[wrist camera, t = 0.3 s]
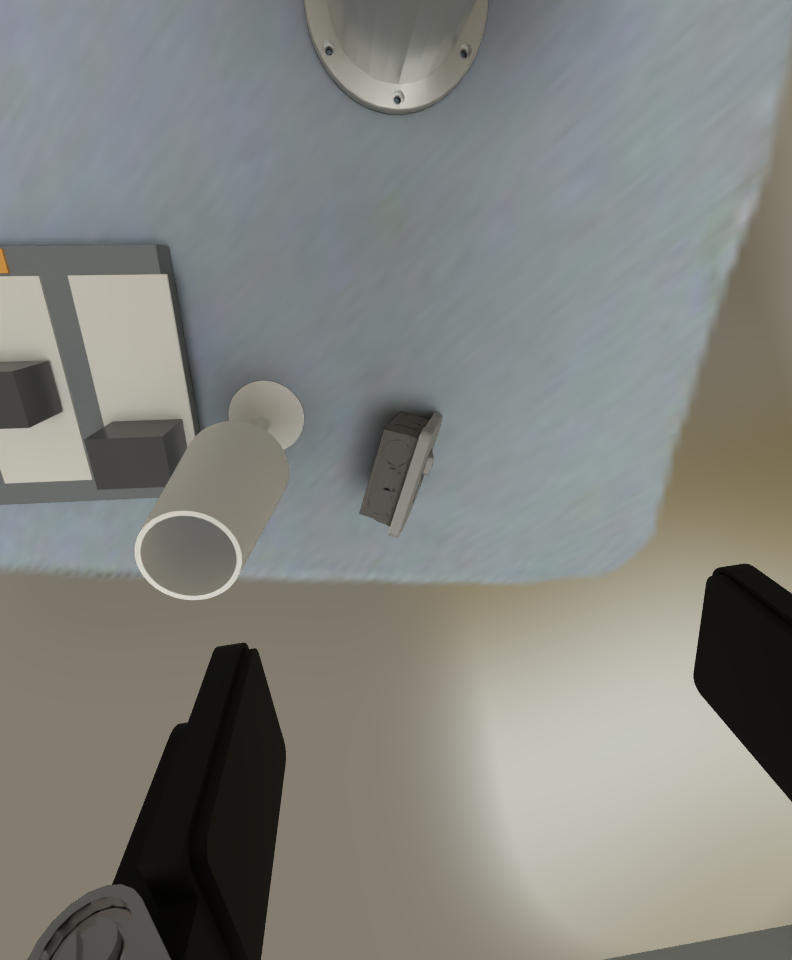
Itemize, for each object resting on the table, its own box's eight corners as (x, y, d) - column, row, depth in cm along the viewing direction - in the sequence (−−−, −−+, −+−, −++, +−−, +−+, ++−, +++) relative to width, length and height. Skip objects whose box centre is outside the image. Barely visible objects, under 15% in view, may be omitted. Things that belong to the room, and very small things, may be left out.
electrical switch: (413, 501, 50) (416, 546, 41) (362, 487, 49) (355, 530, 40) (443, 412, 46) (453, 440, 38) (389, 396, 46) (387, 421, 37)
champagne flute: (212, 417, 45) (79, 560, 22) (262, 364, 43) (174, 459, 21) (270, 467, 47) (202, 640, 25) (320, 417, 45) (294, 554, 23)
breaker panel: (-172, 249, 37) (-300, 243, 30) (175, 246, 39) (135, 240, 32) (-73, 494, 45) (-155, 538, 38) (213, 482, 47) (189, 521, 39)
